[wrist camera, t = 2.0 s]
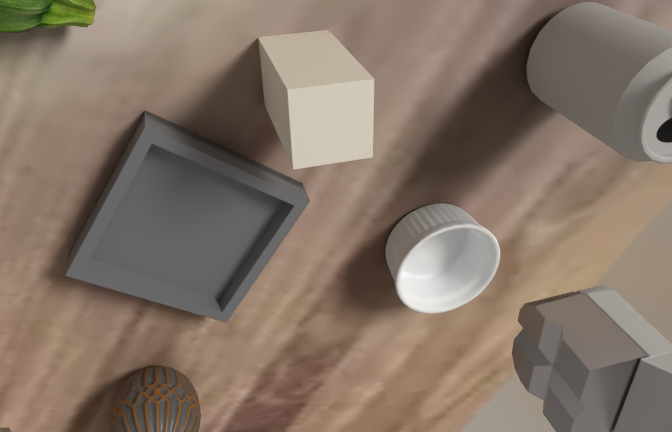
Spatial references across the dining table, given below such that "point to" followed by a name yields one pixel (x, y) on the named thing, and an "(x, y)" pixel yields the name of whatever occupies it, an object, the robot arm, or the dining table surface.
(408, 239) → the ramekin
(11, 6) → the vegetable
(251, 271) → the tray
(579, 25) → the can
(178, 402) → the vase
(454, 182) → the dining table surface
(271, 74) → the cream block
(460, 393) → the dining table surface
